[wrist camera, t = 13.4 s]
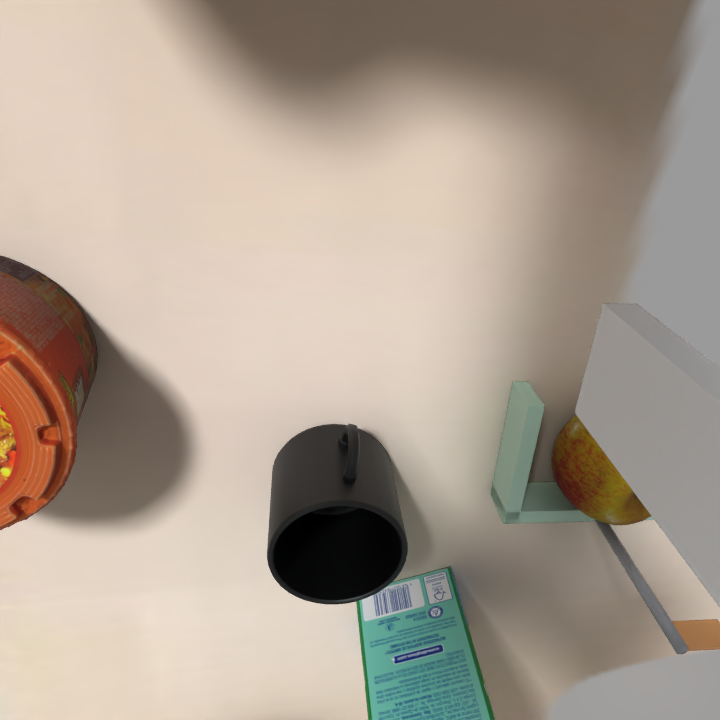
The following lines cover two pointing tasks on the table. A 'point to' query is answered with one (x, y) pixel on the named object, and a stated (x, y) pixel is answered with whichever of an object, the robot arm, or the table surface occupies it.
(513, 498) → the long-handled green u-channel
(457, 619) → the milk carton
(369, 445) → the mug
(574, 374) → the table surface
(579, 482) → the fruit
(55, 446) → the food container
